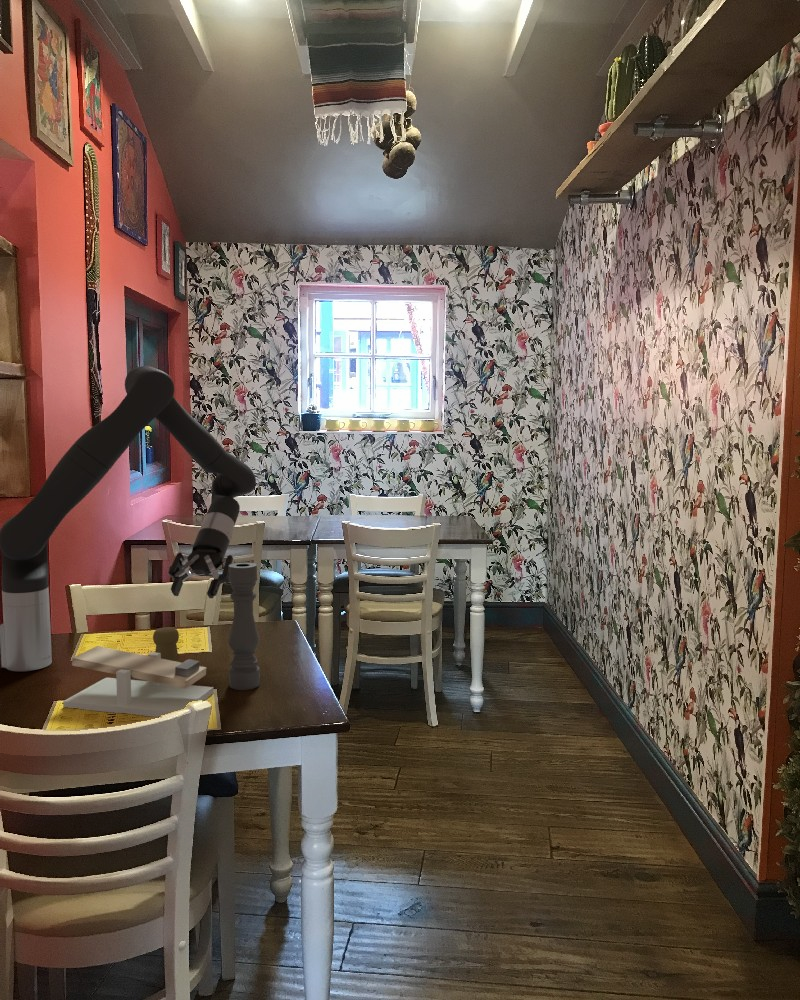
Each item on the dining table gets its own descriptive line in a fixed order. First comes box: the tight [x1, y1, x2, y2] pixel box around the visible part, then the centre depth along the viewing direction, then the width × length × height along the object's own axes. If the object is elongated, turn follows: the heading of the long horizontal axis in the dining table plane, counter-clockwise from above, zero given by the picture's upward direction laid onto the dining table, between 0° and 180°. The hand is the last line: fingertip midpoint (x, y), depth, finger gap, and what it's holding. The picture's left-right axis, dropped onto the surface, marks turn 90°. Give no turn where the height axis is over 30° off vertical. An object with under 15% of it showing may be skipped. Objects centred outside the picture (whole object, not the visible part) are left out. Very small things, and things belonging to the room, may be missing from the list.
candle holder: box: [228, 562, 261, 691], centre depth 162 cm, size 6×6×25 cm
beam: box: [71, 645, 207, 688], centre depth 154 cm, size 24×8×4 cm, turn 77°
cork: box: [152, 626, 180, 662], centre depth 166 cm, size 6×6×11 cm
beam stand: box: [62, 651, 214, 718], centre depth 154 cm, size 24×14×8 cm, turn 77°
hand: (192, 595), depth 176 cm, fingers open, 8 cm apart
